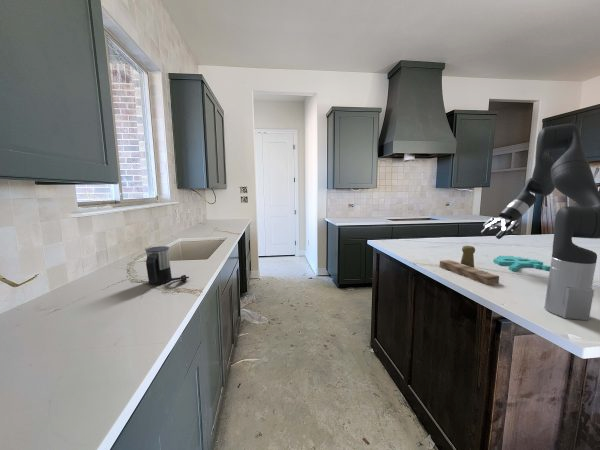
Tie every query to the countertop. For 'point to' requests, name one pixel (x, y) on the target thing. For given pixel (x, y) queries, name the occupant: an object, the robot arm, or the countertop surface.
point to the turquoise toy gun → (519, 263)
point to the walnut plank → (470, 272)
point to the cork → (468, 256)
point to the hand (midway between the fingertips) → (489, 236)
